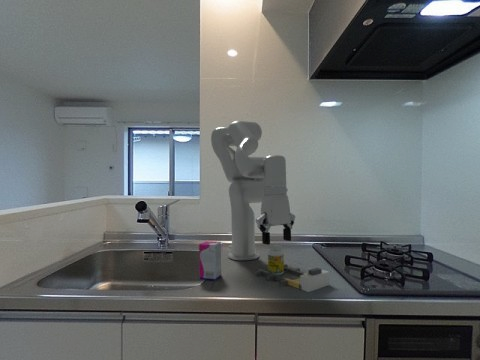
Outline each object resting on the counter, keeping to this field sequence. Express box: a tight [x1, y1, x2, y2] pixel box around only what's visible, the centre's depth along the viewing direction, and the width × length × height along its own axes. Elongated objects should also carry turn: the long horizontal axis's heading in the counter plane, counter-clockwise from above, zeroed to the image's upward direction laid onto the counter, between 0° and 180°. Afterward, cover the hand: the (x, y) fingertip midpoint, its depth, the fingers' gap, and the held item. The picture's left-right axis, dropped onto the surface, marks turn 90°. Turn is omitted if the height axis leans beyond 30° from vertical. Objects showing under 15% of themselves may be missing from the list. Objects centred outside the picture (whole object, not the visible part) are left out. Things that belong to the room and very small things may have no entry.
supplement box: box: [198, 240, 222, 282], centre depth 100 cm, size 6×6×12 cm
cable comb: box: [255, 263, 330, 293], centre depth 98 cm, size 22×14×5 cm, turn 36°
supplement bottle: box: [267, 243, 285, 276], centre depth 104 cm, size 5×5×10 cm
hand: (277, 242), depth 103 cm, fingers open, 9 cm apart
